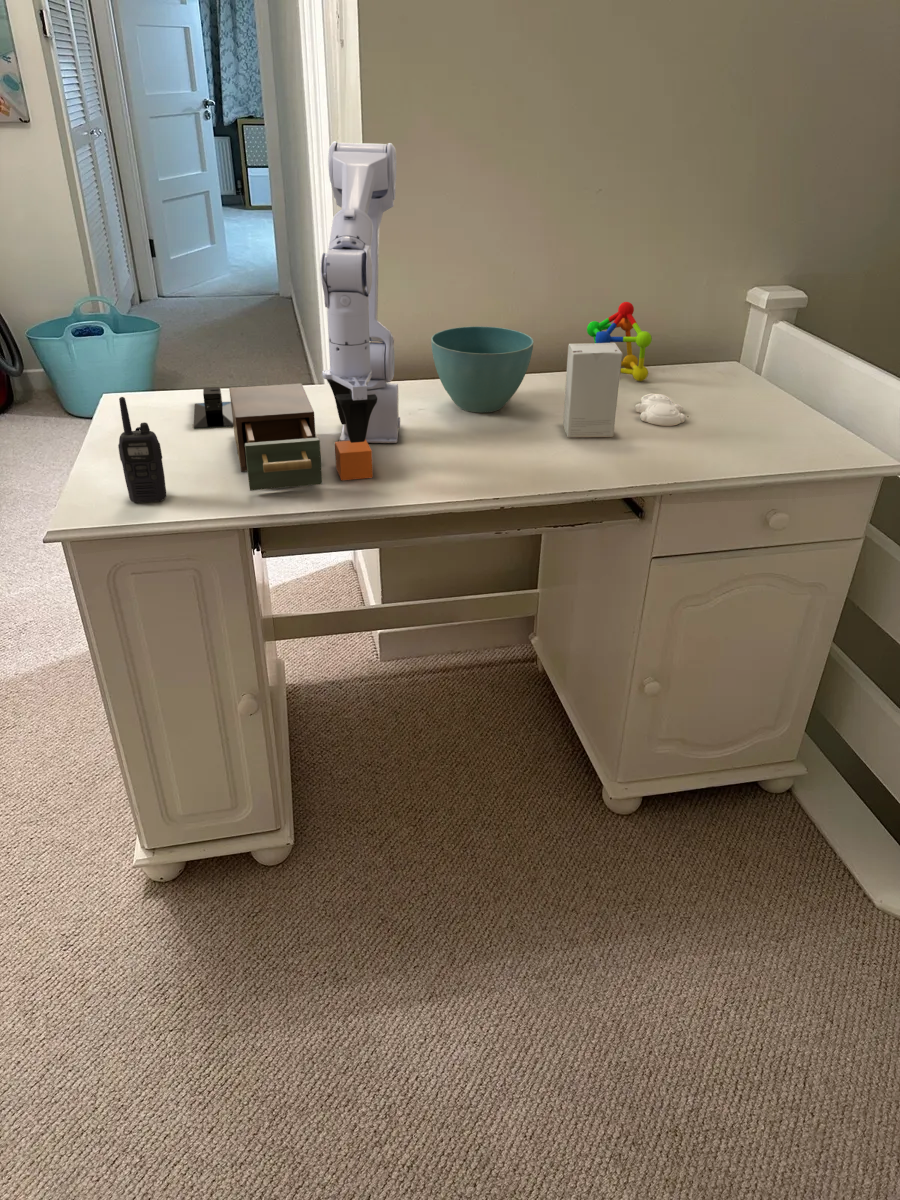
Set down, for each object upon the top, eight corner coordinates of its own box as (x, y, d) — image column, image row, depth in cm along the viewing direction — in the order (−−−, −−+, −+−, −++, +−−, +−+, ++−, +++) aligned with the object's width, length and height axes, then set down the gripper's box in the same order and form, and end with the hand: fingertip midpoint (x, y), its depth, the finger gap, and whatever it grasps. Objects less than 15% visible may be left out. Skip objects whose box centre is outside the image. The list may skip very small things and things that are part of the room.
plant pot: (473, 429, 149) (476, 359, 142) (410, 401, 161) (410, 334, 154) (548, 409, 159) (554, 342, 152) (484, 384, 170) (487, 321, 164)
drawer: (327, 498, 122) (325, 452, 118) (252, 505, 119) (248, 459, 116) (309, 451, 136) (307, 409, 133) (242, 456, 134) (238, 414, 130)
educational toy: (573, 372, 182) (578, 298, 175) (628, 369, 185) (635, 296, 178) (604, 388, 168) (610, 308, 162) (663, 384, 172) (672, 306, 165)
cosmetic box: (607, 426, 152) (617, 341, 144) (613, 439, 147) (625, 351, 139) (559, 426, 151) (568, 340, 144) (564, 438, 146) (573, 351, 138)
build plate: (236, 427, 147) (233, 401, 145) (192, 430, 146) (188, 403, 143) (234, 403, 157) (231, 378, 155) (193, 405, 156) (189, 380, 153)
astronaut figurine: (680, 405, 162) (683, 390, 161) (685, 427, 152) (688, 411, 151) (633, 402, 163) (635, 386, 162) (635, 424, 153) (638, 407, 152)
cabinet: (317, 465, 134) (314, 411, 129) (241, 471, 131) (235, 417, 127) (305, 433, 145) (301, 383, 141) (234, 438, 143) (229, 387, 138)
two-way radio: (126, 505, 120) (106, 400, 112) (131, 492, 124) (112, 390, 116) (167, 503, 121) (150, 399, 113) (170, 490, 125) (154, 388, 117)
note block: (372, 477, 130) (371, 450, 128) (341, 480, 129) (339, 453, 127) (366, 465, 134) (365, 439, 132) (335, 468, 133) (334, 441, 131)
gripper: (313, 328, 126) (318, 417, 133) (329, 355, 114) (333, 452, 121) (360, 326, 128) (363, 414, 135) (381, 353, 116) (382, 448, 123)
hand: (352, 432), depth 128 cm, fingers open, 7 cm apart
